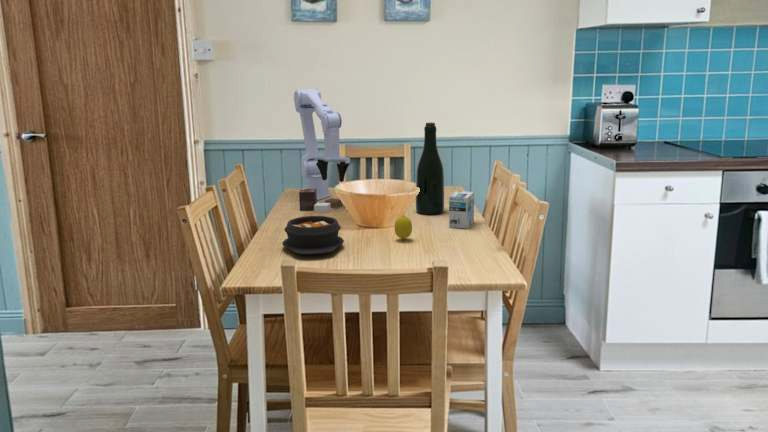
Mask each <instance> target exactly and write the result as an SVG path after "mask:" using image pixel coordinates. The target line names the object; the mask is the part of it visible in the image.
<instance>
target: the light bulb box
mask: <svg viewBox="0 0 768 432" xmlns="http://www.w3.org/2000/svg"><path fill="white" fill-rule="evenodd" d="M448 200H449V201H448V203H449V204H448V205H449V207H448V210H449V211H448V228H453V229H455V228H456V229H464V230H466V229H467V230H468V229H470V228H469V227H471V226H472V224H473V223H474V221H475V192H474V191H465V190H464V191H462V190H455V191H454V192H453V193H452V194H451V195H449V197H448Z"/></svg>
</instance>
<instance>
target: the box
mask: <svg viewBox="0 0 768 432" xmlns="http://www.w3.org/2000/svg"><path fill="white" fill-rule="evenodd" d="M298 198H299V202H298V203H299V211H302V212H304V211H314V205H315V204H316V203H318V200H317V193H316V189H306V188H301V189H300V190H299V191H298Z"/></svg>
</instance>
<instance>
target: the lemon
mask: <svg viewBox="0 0 768 432" xmlns="http://www.w3.org/2000/svg"><path fill="white" fill-rule="evenodd" d="M412 232H413V225H412V220H411V219H410V218H409V217H408V216H406V215H403V214H402V215H401V216H399V217H398V218H397V219H395V222H394V233H395V235H396V236H397V237H398V238H400V239H401V240H402V241H405V240H406V239H407V238H409V237H410V236H411V235H412Z"/></svg>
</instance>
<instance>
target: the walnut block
mask: <svg viewBox="0 0 768 432" xmlns="http://www.w3.org/2000/svg"><path fill="white" fill-rule="evenodd" d="M340 199H341V198H334V197H331V198H328V199H326V200H324V202H325V203H331V210H332V209H333V210H337V209H339V208H343V205H344V204H343V203H344V202H343V203H342V202H341V200H340Z"/></svg>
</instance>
